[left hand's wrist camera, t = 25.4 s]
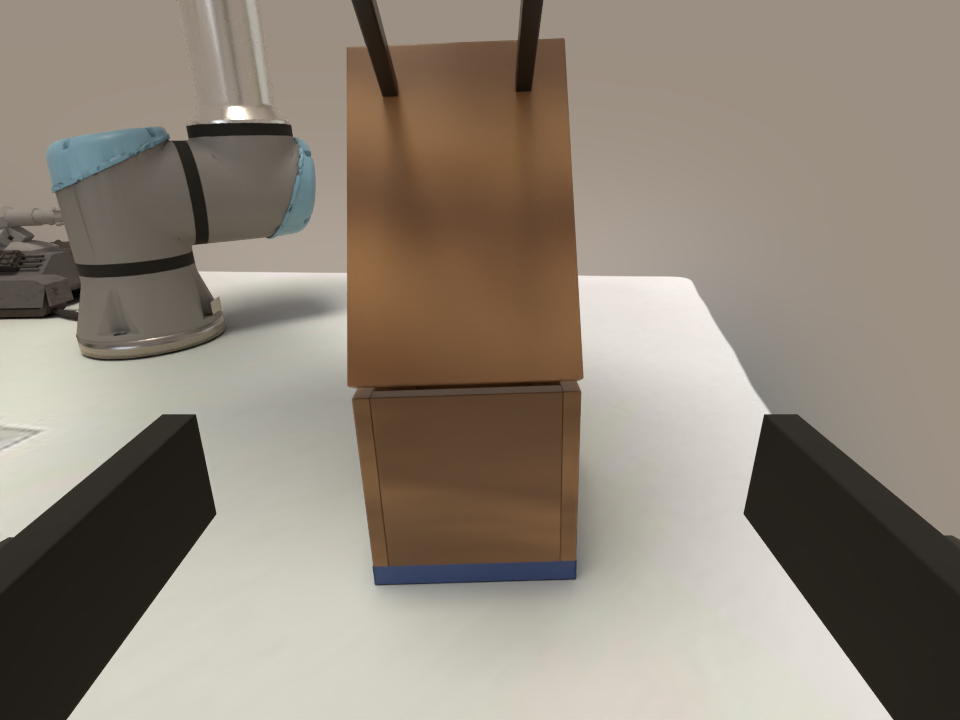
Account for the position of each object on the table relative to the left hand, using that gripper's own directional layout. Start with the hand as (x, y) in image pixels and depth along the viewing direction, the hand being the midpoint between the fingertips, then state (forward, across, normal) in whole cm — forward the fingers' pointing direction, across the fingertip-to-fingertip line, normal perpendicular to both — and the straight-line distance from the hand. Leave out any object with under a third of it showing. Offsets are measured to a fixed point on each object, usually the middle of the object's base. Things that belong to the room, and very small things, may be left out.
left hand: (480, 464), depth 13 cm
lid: (+14, -1, +4) cm, 14 cm away
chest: (+17, 0, -12) cm, 21 cm away
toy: (+74, -72, -16) cm, 104 cm away
